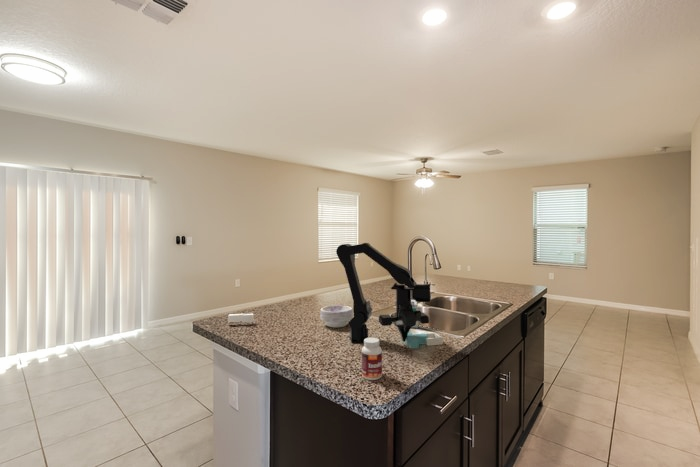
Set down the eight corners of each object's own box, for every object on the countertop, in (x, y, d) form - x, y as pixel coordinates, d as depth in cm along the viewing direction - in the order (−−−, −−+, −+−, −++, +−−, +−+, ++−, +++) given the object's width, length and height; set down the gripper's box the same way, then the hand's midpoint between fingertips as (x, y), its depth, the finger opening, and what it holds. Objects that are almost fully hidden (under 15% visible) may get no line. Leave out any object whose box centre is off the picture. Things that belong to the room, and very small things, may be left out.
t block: (411, 348, 119) (411, 340, 119) (402, 339, 128) (402, 332, 128) (431, 346, 120) (431, 339, 120) (421, 338, 130) (421, 330, 130)
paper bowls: (342, 318, 161) (342, 303, 161) (359, 326, 148) (358, 309, 148) (315, 323, 153) (315, 307, 153) (329, 332, 140) (329, 314, 140)
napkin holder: (221, 327, 151) (220, 315, 151) (239, 321, 161) (239, 309, 161) (244, 331, 144) (244, 318, 144) (262, 324, 154) (261, 312, 154)
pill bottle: (368, 382, 92) (368, 345, 92) (357, 374, 98) (357, 338, 98) (386, 377, 95) (385, 341, 95) (374, 370, 101) (374, 335, 101)
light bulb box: (418, 328, 143) (417, 304, 143) (403, 327, 144) (402, 304, 144) (418, 321, 153) (417, 299, 153) (403, 321, 155) (403, 299, 155)
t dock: (427, 345, 121) (427, 339, 121) (420, 339, 128) (420, 333, 128) (442, 344, 122) (442, 337, 122) (435, 338, 129) (435, 332, 129)
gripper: (385, 306, 114) (386, 350, 114) (435, 304, 117) (435, 347, 117) (378, 300, 125) (378, 340, 125) (423, 298, 128) (423, 337, 128)
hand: (403, 341), depth 123 cm, fingers closed
